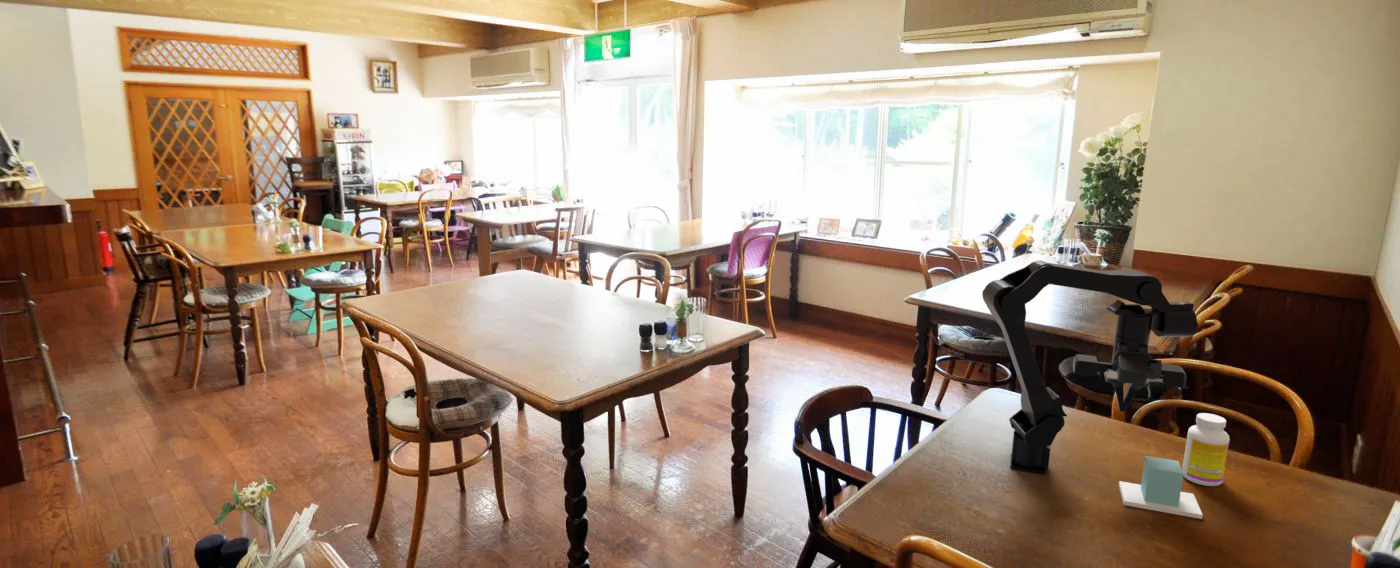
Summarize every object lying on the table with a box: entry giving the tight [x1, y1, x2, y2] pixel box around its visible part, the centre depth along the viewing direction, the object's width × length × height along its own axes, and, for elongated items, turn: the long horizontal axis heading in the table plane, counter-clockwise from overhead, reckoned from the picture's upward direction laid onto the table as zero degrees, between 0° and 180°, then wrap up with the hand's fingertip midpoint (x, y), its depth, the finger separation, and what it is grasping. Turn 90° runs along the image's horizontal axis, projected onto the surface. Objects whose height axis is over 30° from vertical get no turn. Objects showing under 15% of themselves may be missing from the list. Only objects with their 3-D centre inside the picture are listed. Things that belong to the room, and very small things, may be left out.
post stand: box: [1118, 480, 1204, 520], centre depth 131 cm, size 12×8×6 cm, turn 66°
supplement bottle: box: [1181, 412, 1231, 487], centre depth 139 cm, size 7×7×13 cm
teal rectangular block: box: [1140, 455, 1184, 507], centre depth 131 cm, size 5×5×7 cm
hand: (1121, 411), depth 143 cm, fingers closed
